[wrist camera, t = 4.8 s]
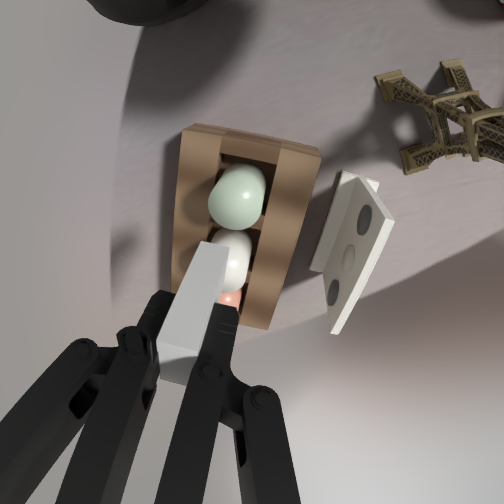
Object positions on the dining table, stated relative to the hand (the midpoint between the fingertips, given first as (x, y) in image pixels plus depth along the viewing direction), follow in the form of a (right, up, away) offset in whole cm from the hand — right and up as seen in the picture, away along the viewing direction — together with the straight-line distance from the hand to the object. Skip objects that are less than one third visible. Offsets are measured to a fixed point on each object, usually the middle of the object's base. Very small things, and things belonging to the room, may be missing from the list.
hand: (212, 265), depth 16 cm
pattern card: (+12, +3, +15) cm, 20 cm away
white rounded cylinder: (0, +1, +14) cm, 14 cm away
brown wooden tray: (0, +3, +17) cm, 17 cm away
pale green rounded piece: (+1, +7, +10) cm, 12 cm away
